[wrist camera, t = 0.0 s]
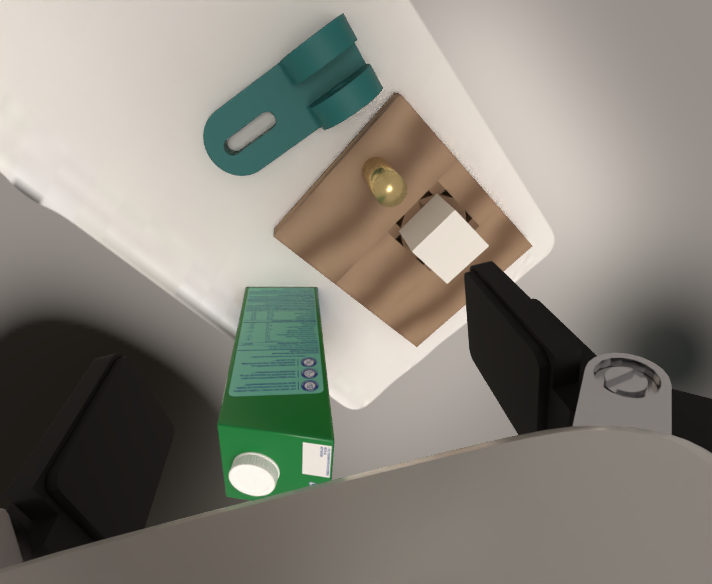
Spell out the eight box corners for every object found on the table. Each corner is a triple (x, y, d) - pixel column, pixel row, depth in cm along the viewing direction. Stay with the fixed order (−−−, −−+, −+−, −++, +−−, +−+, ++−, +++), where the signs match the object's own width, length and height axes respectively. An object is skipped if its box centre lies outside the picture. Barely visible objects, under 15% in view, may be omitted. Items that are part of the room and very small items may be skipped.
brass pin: (356, 172, 44) (368, 192, 37) (375, 150, 43) (391, 167, 36) (375, 190, 45) (390, 213, 38) (394, 170, 44) (413, 189, 37)
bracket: (338, 18, 39) (347, 8, 32) (373, 85, 42) (389, 88, 35) (193, 128, 42) (174, 140, 35) (237, 182, 45) (227, 203, 38)
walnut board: (274, 228, 48) (273, 236, 46) (395, 92, 43) (400, 94, 40) (412, 336, 59) (416, 347, 56) (522, 238, 53) (532, 246, 51)
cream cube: (398, 231, 48) (411, 251, 42) (436, 193, 46) (455, 209, 41) (431, 261, 50) (447, 284, 45) (468, 226, 49) (489, 246, 43)
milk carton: (245, 286, 51) (211, 449, 30) (317, 286, 53) (334, 442, 31) (249, 344, 55) (221, 523, 34) (315, 343, 57) (329, 514, 35)
